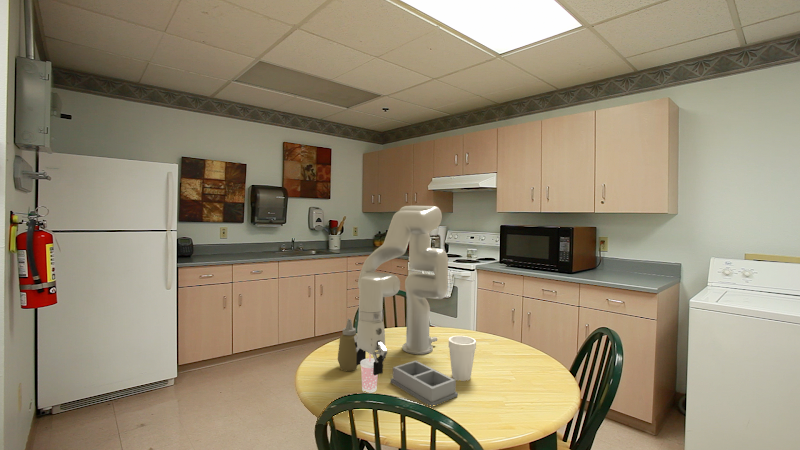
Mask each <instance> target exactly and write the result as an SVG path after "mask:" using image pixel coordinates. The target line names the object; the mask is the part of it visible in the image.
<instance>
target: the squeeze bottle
mask: <svg viewBox="0 0 800 450" xmlns="http://www.w3.org/2000/svg"><path fill="white" fill-rule="evenodd" d="M345 325H346V326H345V327H343V329H342V334H341V335H340V337H339V344H338V352H337V362H338V365H339V369H341V370H342V371H344V372H353V371H355V370H357V368H358V366H359V365H357V364H356V359H357V352H356V346H355V340H354V336H355V335H357V330H356V327H354V326H353V322H352V319H351V318H348V319H347V321H346V324H345Z"/></svg>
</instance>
